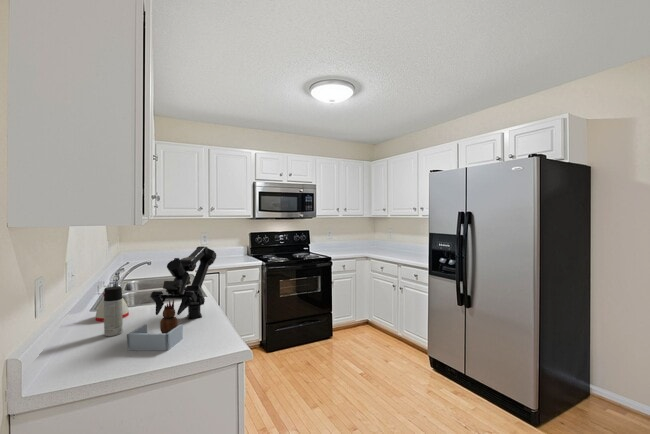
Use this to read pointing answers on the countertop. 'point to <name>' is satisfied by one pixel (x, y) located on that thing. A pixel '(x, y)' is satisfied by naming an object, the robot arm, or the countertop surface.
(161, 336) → the cubby
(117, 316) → the spray can
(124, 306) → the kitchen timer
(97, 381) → the countertop surface
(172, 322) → the wooden figurine
